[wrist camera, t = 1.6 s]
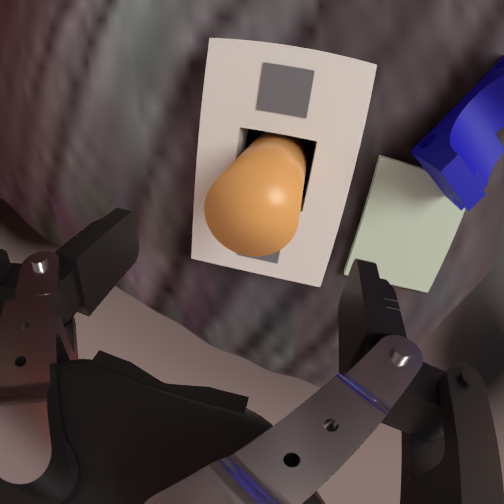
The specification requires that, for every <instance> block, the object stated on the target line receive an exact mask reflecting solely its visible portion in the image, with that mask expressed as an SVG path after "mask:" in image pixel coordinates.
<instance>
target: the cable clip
mask: <svg viewBox="0 0 504 504" xmlns="http://www.w3.org/2000/svg"><path fill="white" fill-rule="evenodd" d="M503 126H504V56H503V57H502V58H501V59H500V60H499V61H498V62H497V64H496V65H495V66H494V67H493V68H492V69H491V70H490V71H489V72H488V73H487V74H486V75H485V76H484V77H483V78H482V79H481V80H480V81H479V82H478V84H477V85H476V86H475V87H474V88H473V89H472V90H471V91H470V92H469V93H468V94H467V95H466V96H465V97H464V98H463V99H462V100H461V101H460V102H459V103H458V104H457V105H456V106H455V107H454V108H453V109H452V110H451V111H450V112H449V113H448V114H447V115H446V116H445V117H444V118H443V119H442V120H441V121H440V122H439V123H438V124H437V125H436V126H435V127H434V128H433V129H432V130H431V131H430V132H429V133H428V134H427V135H426V136H425V137H424V138H423V139H422V140H421V141H420V142H419V143H418V144H417V145H416V146H415V147H414V148H413V149H412V150H411V151H410V152H411V153H412V155H413V156H414V157H415V158H416V159H417V160H418V162H419V163H420V164H421V165H422V167H423V168H424V169H425V170H426V171H427V173H428V174H429V175H430V177H431V178H432V179H433V180H434V182H435V183H436V184H437V185H438V187H439V188H440V189H441V191H442V192H443V193H444V195H445V196H446V197H447V198H448V199H449V200H450V201H451V202H452V203H453V204H455V205H456V206H457V207H458V208H459V209H460V210H463V209H464V208H466V209H467V210H468V211H469V210H470V209H471V208H472V207H473V206H474V205H475V204H476V203H477V202H478V201H479V200H480V199H481V198H482V197H483V196H484V195H485V192H484V191H483V189H484V188H485V187H486V186H487V182H488V178H489V175H490V173H491V171H492V169H493V167H494V165H495V163H496V162H497V160H498V159H499V157H500V156H501V155H502V154H503V152H504V148H503V146H502V144H501V143H500V141H499V139H498V138H497V136H496V135H495V134H496V133H497V132H498V131H499V130H500V129H501V128H502V127H503Z"/></svg>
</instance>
